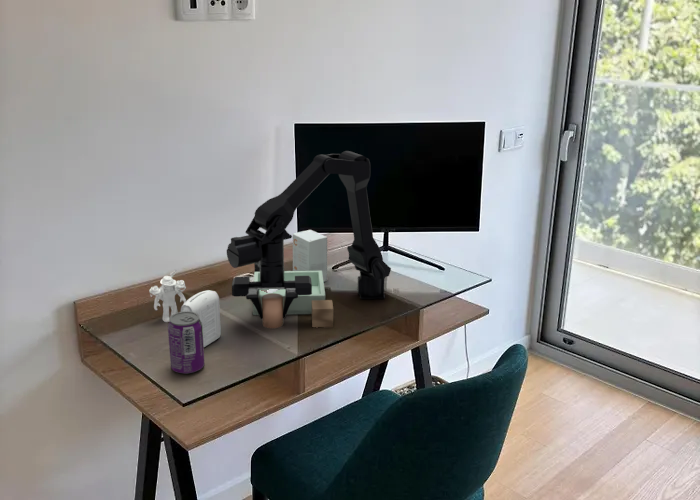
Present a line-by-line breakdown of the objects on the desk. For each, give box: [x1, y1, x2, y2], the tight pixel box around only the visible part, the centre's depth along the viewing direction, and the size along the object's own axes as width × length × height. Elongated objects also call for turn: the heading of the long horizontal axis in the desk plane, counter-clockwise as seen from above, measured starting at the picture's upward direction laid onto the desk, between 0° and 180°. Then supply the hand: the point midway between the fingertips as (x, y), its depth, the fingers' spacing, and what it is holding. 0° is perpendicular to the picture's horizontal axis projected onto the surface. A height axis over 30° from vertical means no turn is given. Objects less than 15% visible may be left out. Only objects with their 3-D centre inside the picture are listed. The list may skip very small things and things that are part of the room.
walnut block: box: [311, 299, 334, 329], centre depth 177 cm, size 5×5×5 cm
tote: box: [252, 270, 326, 316], centre depth 189 cm, size 18×16×5 cm
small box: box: [292, 229, 328, 282], centre depth 201 cm, size 8×6×13 cm
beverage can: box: [167, 311, 205, 375], centre depth 155 cm, size 7×7×12 cm
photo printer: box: [180, 289, 222, 348], centre depth 165 cm, size 10×4×12 cm, turn 151°
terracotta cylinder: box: [261, 293, 284, 330], centre depth 176 cm, size 5×5×7 cm
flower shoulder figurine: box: [148, 269, 187, 323], centre depth 176 cm, size 9×4×12 cm, turn 127°
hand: (272, 318), depth 177 cm, fingers closed on terracotta cylinder, 5 cm apart
